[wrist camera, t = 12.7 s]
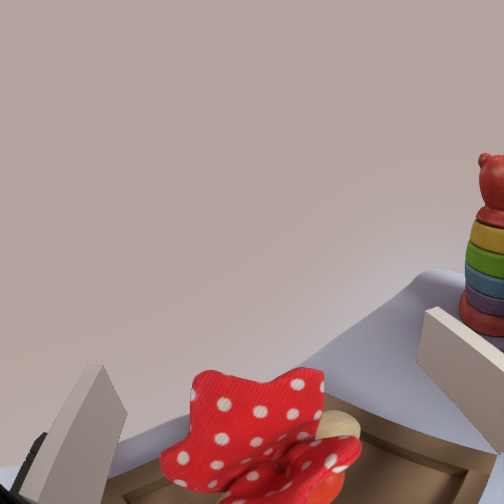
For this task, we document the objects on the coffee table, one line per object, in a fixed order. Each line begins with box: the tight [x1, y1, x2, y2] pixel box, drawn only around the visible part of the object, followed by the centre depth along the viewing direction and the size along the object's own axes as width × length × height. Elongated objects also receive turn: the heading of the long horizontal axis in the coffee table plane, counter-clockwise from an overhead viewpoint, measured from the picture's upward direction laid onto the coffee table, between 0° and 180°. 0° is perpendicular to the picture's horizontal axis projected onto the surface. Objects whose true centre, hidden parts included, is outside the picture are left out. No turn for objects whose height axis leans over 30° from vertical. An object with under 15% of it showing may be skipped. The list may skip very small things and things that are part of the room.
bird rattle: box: [160, 367, 362, 504], centre depth 8 cm, size 6×11×9 cm
